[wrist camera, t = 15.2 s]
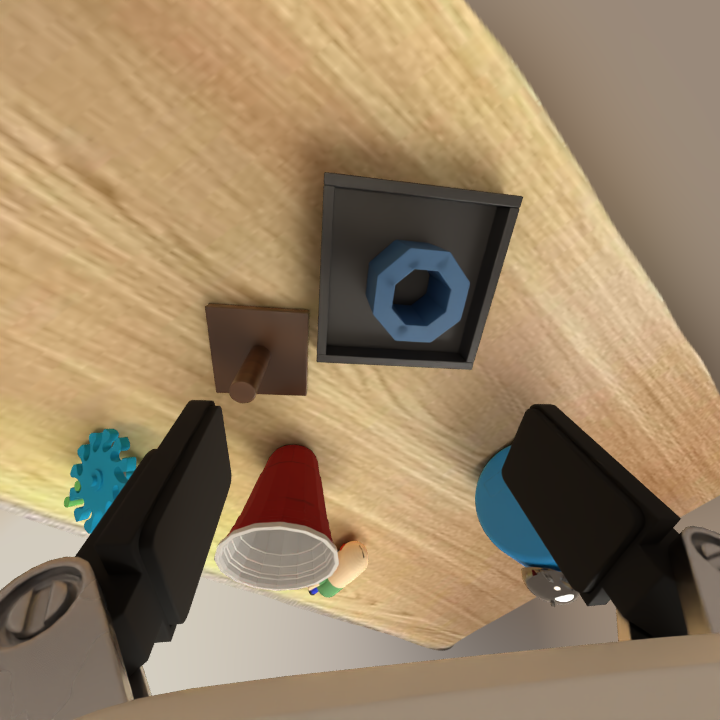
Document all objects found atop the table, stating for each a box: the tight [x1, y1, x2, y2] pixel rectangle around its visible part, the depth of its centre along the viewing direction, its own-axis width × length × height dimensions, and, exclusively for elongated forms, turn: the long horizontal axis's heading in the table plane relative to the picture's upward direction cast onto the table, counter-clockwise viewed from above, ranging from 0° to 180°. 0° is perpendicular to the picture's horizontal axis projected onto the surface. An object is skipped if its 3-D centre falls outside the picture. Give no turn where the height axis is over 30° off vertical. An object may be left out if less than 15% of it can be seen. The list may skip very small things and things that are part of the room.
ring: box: [366, 240, 470, 343], centre depth 25 cm, size 7×7×6 cm
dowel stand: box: [205, 303, 309, 403], centre depth 27 cm, size 9×9×8 cm
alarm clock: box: [475, 445, 579, 607], centre depth 34 cm, size 13×6×15 cm, turn 136°
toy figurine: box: [308, 541, 369, 597], centre depth 45 cm, size 8×4×12 cm
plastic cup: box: [214, 445, 339, 591], centre depth 32 cm, size 11×11×12 cm
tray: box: [317, 172, 523, 370], centre depth 27 cm, size 15×15×3 cm
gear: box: [64, 429, 136, 534], centre depth 33 cm, size 11×6×10 cm
